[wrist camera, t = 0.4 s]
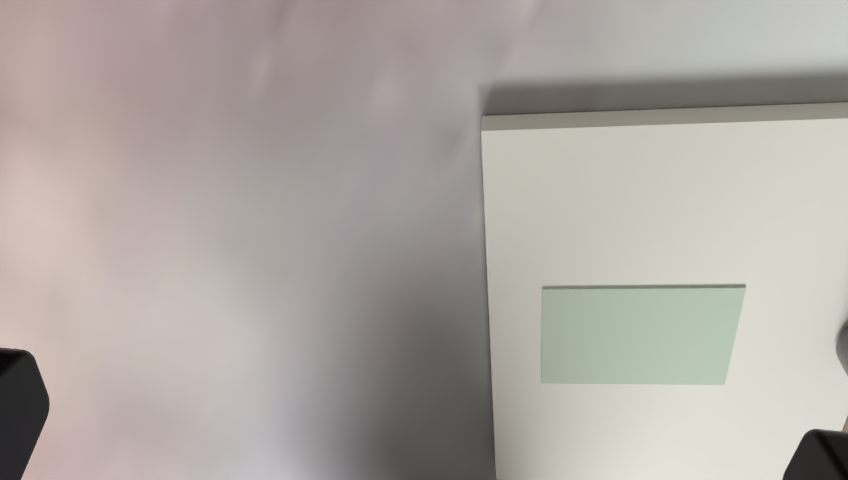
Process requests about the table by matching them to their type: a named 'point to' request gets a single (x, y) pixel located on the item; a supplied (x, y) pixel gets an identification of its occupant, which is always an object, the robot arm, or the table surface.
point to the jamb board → (665, 289)
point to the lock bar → (843, 349)
